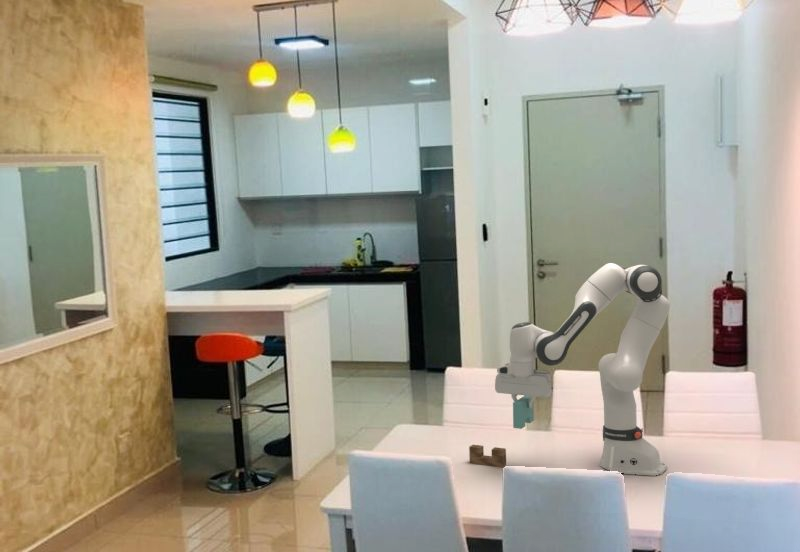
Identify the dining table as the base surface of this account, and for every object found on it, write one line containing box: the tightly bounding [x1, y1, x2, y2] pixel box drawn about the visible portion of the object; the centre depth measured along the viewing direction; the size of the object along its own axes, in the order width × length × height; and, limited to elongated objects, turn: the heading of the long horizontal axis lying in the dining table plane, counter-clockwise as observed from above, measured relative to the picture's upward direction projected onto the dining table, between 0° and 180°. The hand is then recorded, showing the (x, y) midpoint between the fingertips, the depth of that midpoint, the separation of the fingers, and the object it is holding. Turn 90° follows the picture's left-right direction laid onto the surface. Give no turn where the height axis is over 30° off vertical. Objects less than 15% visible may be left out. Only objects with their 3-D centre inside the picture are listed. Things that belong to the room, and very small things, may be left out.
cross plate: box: [512, 395, 535, 430], centre depth 302 cm, size 12×3×9 cm, turn 151°
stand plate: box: [468, 444, 507, 468], centre depth 308 cm, size 13×3×6 cm, turn 60°
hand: (523, 407), depth 302 cm, fingers closed on cross plate, 3 cm apart
